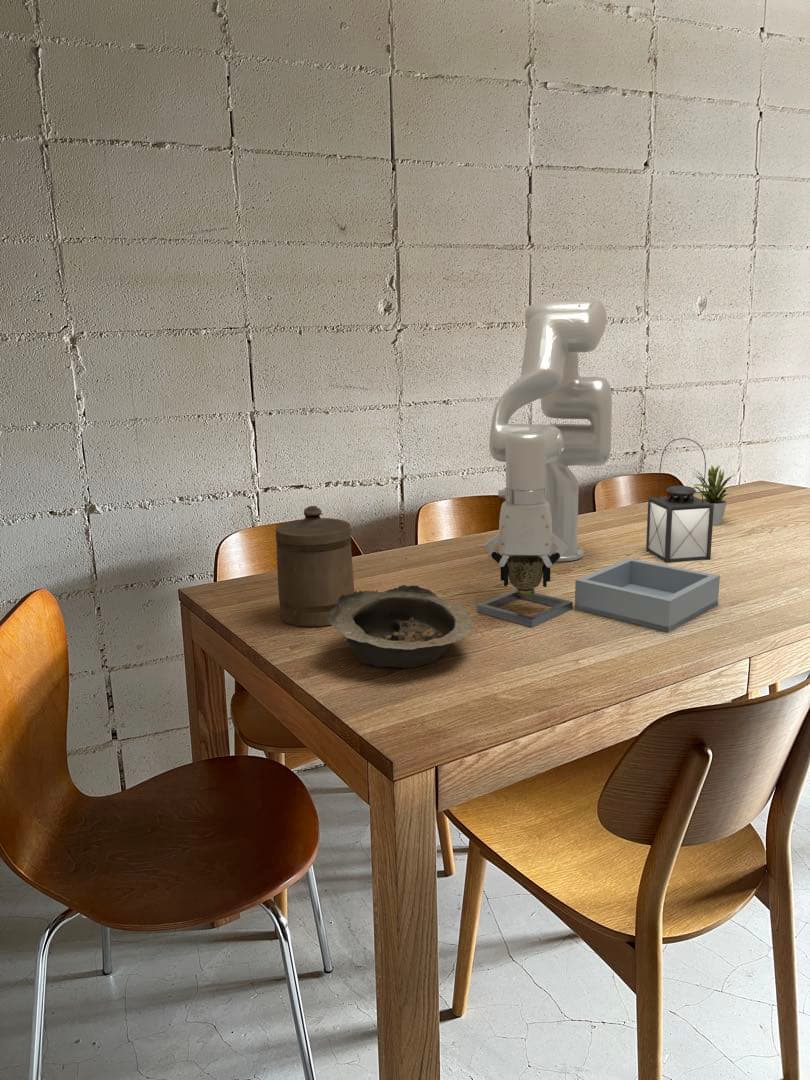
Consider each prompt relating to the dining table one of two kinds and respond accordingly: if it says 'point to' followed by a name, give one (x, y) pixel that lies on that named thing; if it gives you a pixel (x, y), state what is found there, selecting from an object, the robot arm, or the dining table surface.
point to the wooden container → (313, 567)
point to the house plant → (714, 493)
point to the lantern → (679, 524)
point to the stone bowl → (399, 625)
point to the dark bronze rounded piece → (525, 573)
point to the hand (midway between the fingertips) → (525, 583)
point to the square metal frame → (491, 610)
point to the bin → (647, 593)
